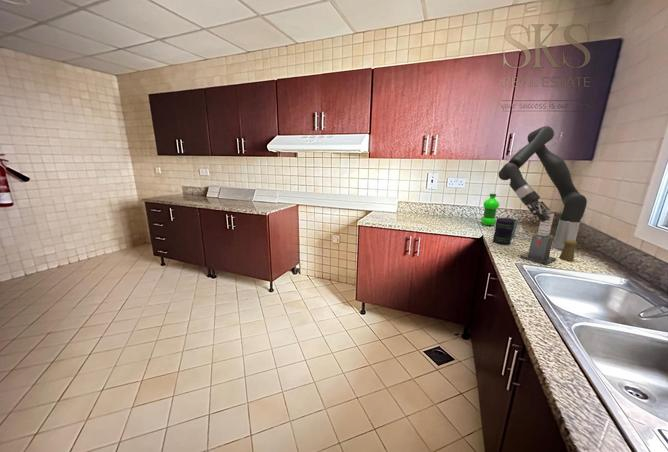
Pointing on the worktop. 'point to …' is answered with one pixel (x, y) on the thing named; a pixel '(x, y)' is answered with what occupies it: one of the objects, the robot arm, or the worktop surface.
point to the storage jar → (503, 231)
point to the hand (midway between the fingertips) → (548, 219)
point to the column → (546, 224)
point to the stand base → (540, 250)
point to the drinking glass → (514, 225)
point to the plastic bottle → (490, 210)
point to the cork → (568, 250)
